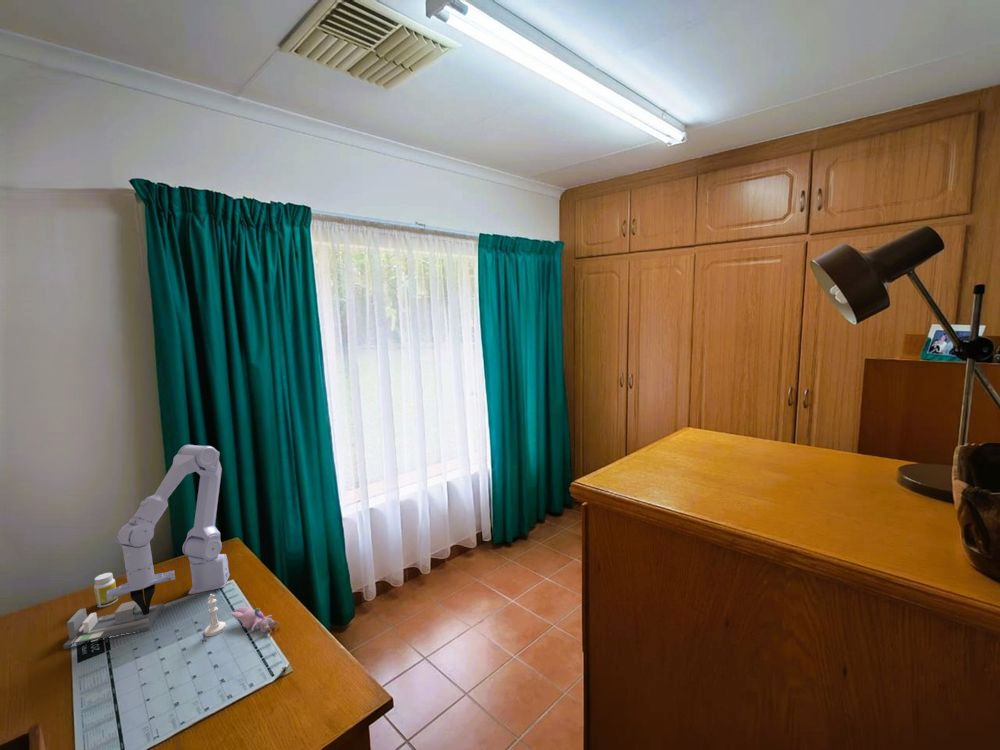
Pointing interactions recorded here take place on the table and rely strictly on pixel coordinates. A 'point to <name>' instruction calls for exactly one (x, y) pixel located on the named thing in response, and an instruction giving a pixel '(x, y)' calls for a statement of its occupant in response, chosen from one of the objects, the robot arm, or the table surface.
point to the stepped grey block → (125, 613)
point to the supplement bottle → (104, 589)
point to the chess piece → (214, 619)
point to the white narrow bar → (89, 623)
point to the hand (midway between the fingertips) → (146, 613)
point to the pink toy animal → (254, 619)
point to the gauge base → (108, 626)
